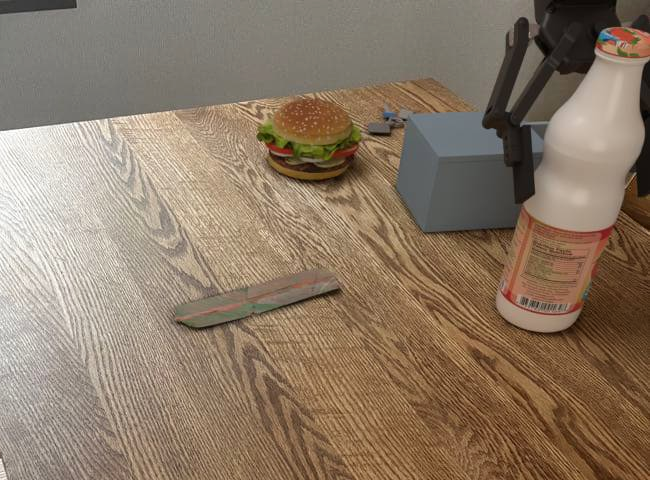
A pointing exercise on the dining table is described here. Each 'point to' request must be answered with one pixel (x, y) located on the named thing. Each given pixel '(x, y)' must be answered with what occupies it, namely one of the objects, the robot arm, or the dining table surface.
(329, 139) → the food
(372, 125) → the key chain
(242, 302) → the map
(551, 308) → the fruit juice
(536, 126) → the drawer
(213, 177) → the dining table surface
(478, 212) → the cabinet
